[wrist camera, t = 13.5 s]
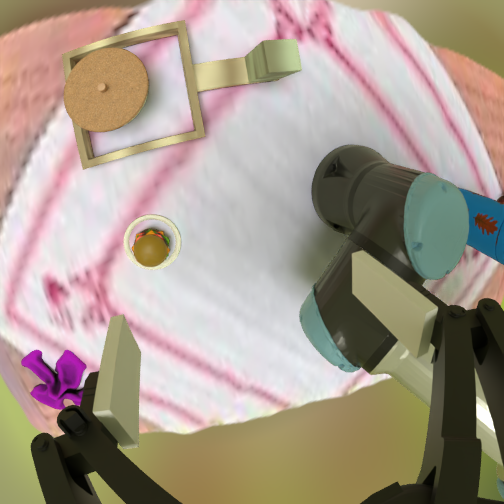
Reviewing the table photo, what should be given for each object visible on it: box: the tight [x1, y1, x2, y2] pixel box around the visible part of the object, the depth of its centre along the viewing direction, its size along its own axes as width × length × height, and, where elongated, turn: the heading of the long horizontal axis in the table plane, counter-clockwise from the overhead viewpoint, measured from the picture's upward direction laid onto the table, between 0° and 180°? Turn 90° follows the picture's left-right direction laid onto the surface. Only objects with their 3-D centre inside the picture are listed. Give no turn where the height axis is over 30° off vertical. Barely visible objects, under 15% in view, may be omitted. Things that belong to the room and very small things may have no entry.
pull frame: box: [62, 20, 302, 170], centre depth 33 cm, size 29×17×11 cm, turn 100°
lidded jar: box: [64, 47, 149, 132], centre depth 33 cm, size 11×11×9 cm
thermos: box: [458, 188, 504, 265], centre depth 48 cm, size 11×11×25 cm
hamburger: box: [124, 215, 181, 270], centre depth 45 cm, size 12×12×6 cm
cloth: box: [21, 350, 87, 410], centre depth 50 cm, size 22×19×6 cm
